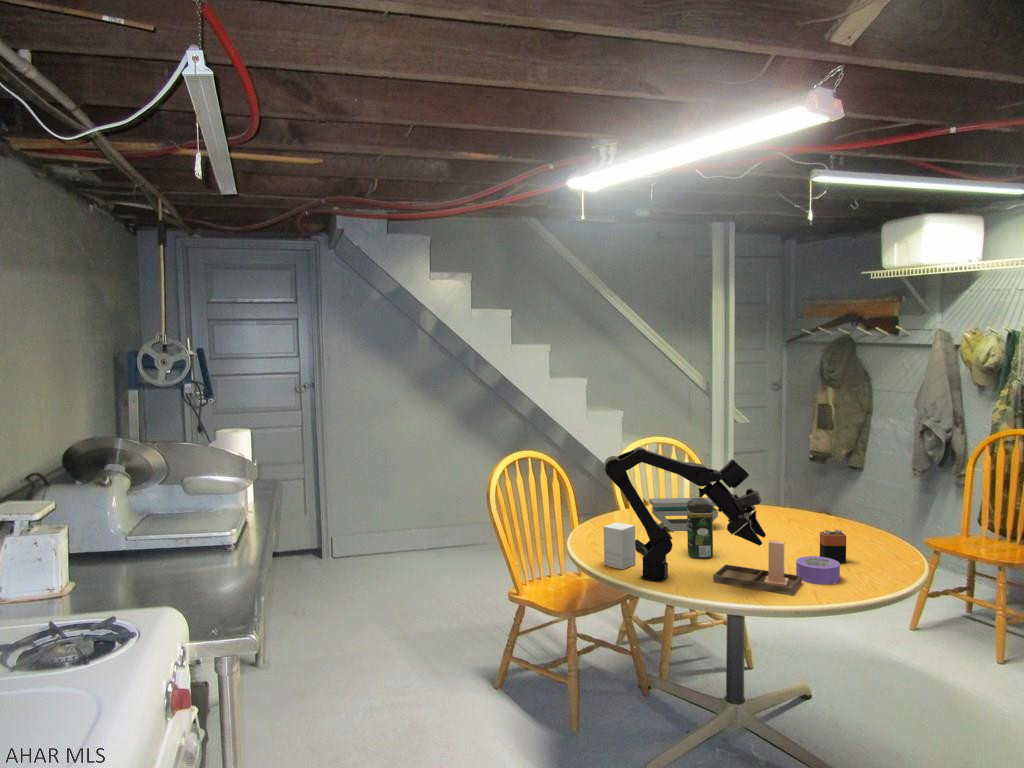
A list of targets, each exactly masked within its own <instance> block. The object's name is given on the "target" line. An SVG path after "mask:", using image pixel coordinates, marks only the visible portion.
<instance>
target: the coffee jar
mask: <svg viewBox="0 0 1024 768" xmlns="http://www.w3.org/2000/svg"><path fill="white" fill-rule="evenodd" d="M691 498H692V499H690V500H689V501H688V503H687V516H686V519H687V532H686V533H687V553H688V555H689V556H690V557H691V558H697V559H701V560H704V559H705V560H706V559H709V558H713V555H714V540H713V539H714V535H713V534H714V533H713V532H714V530H713V527H714V526H713V523H714V521H713V506H712V504H711V503H710V502H709V501H708V500H706V499H704V498H705V497H701V498H700V497H691Z"/></svg>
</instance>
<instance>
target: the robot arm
mask: <svg viewBox="0 0 1024 768" xmlns="http://www.w3.org/2000/svg"><path fill="white" fill-rule="evenodd" d="M641 463H643V464H645V465H649V466H651V467H655V468H658V469H660V470H663V471H666V472H669V473H673V474H676V475H678V476H680V477H682V478H684V479H685V480H687V481H688V482H691V483H692V484H695V485H697V486H698V487H699V488H698V493H699V494H698V498H703V496H706V498H709V499H710V500H711V501H712V502H713V503H714V504H715V505H717V506H716V507H717V508H718V509H717V510H718V513H723V514H724V515H725V516H726V518H727V519H728V520H727V521H728V523H727V524H726V525H727V526H726V531H727V532H728V533H729V534H730V535H733V536H735V537H736V536H737V537H738V538H741V539H744V540H745V541H748V542H750V543H753V544H754V545H757V546H759V547H761V545H762V544H763V542H762V539H760V537H761V538H765V537H766V536H767V534H766V533H765V531H764V529H763V528H762V526H761V524H760V522H759V521H758V519H757V509H756V508H757V507H756V506H758V505H760V504H761V502H762V501H763V500H762V498H761V496H760V493H759V492H758V490H754V489H753V488H748V489H746V490H745V494H743V495H741V496H739V495H738V494H735V493H732V492H731V491H730V490H729V489H731V488H732V489H737V488H738V487H739V486H740V485H741V484H742V483H743V482H745V480H747V479H748V478H749V477H750V474H749V473H748V472H747V471H746V470H745V469H744V468H743V467H742V466H741V465H739V463H737V462H736V461H735V460H734V459H730V460H729V461H728V462H727V463H726V465H724V466H723V467H722V468H721V469H720V470H718V469H712V468H708V467H707V466H706V465H704V464H702V463H698V462H697V463H696V462H687V461H680V460H677V459H675V458H671V457H669V456H665V455H663V454H660V453H656V452H654V451H650V450H649V449H645V448H644V447H641V446H638V447H635V448H633V449H632V450H630V451H627V452H624V453H622V454H619V455H617V456H613V455H611V456H608V457H607V458H606V459H605V460H604V463H603V467H604V471H605V475H606V476H607V477H609V478H610V480H611V481H612V482H613V483H614V484H615V486H617V487H618V488H619V490H621V492H622V494H623V496H624V497H625V499H626V500H627V502H628V503H629V505H630V506H631V508H632V510H633V511H634V514H635V515H636V516H637V519H639V521H640V523H641V525H642V526H643V527H644V530H645V531H646V535H647V537H648V541H647V542H646V543H644V544H645V545H644V546H643V548H644V551H645V554H646V555H643V556H642V575H640V579H641V578H642V580H646V581H654V582H658V581H659V582H663V581H664V580H666V579H667V578H668V577H669V563H668V562H667V555H668V554H669V553H670V552H671V551H672V549H673V542H672V540H673V537H672V535H671V532H669V531H668V530H667V529H666V528H667V527H666V526H665V525H664V524H663V522H661V523H660V524H659V523H658V522H657V521H656V520H655V519H654V517H653V516H652V514H651V513H650V511H649V509H648V508H647V506H646V504H645V503H644V501H643V500H642V498H641V496H640V495H639V493H638V492H637V490H636V489H635V487H634V486H633V483H632V482H631V479H630V478H629V474H628V472H627V471H629V470H630V469H632V468H634V467H635V466H637V465H639V464H641ZM721 481H722V482H723V483H724V484H725V485H726V486H727V487H728V488H729V489H728V488H727V487H726V486H725V485H724V484H723V483H722V482H721ZM712 483H713V484H712ZM700 487H703V488H700ZM759 536H760V537H759ZM659 582H658V583H659Z"/></svg>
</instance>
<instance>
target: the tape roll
mask: <svg viewBox="0 0 1024 768" xmlns="http://www.w3.org/2000/svg"><path fill="white" fill-rule="evenodd" d="M795 563H796V568H795V570H796V571H795V575H798V576H802V582H803V583H805V582H806V583H807V584H808V583H809V584H812V585H813V584H814V585H821V584H822V585H823V586H824V585H825V584H830V585H835V584H834V583H836V584H838V583H839V582H840V581H841V575H840V574H841V572H840V568H841V563H839V562H838V561H836V560H833V559H830V558H825V557H820V556H817V555H816V556H813V555H812V556H809V555H808V556H801V557H798V558H797V559H796V561H795Z"/></svg>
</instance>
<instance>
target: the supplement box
mask: <svg viewBox="0 0 1024 768" xmlns="http://www.w3.org/2000/svg"><path fill="white" fill-rule="evenodd" d="M635 540H636V525H633V524H629V523H623V522H618V521H617V522H613V523H610V524H607V525H604V526H603V557H604V558H603V559H604V560H603V564H604V566H605V565H607V566H606V567H609V566H611V567H610V568H613V567H615V568H614V569H618V568H619V569H618V570H622V569H623V570H625V568H626V569H628V567H629V568H631V567H633V565H634V566H636V564H637V563H636V561H637V560H636V559H637V557H636V547H635ZM630 566H631V567H630Z"/></svg>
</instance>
